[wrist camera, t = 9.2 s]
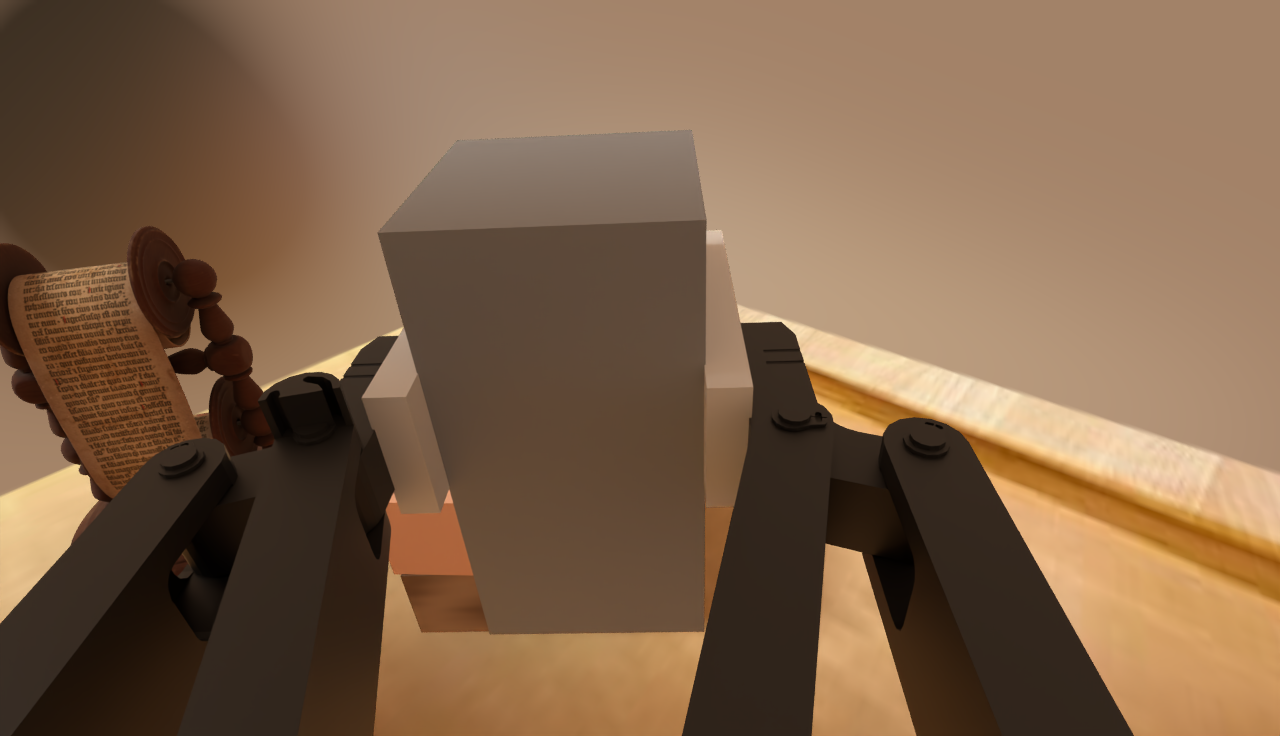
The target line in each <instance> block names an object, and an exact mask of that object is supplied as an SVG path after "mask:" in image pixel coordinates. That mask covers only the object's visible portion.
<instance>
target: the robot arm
mask: <svg viewBox="0 0 1280 736" xmlns="http://www.w3.org/2000/svg"><path fill="white" fill-rule="evenodd" d="M258 403H259V405H260V408H261V410H262V412H263V414H264V417H265V419H266V421H267V423H268V425H269V428H270V430H271V432H272V434H273V437H274V439H275V440H274V443H273V446H272V447H270V448H266V449H262V450H258V451H254V452H249V453H245V454H241V455H236V456H232V457H230V455H229V453H228V451H227V449H226V447H225V445H224V444H223V443H221V442H220V441H218V440H217V439H210V438H199V439H192V440H186V441H183V442H180V443H176V444H174V445H171V446H169V447H168V448H166V449H165V450H163V451H161V452H159V453H157V454H156V455H154V456H153V457H152V458H151V459H150V460H149V461H147V462H146V463H145V464H144V465H143V466H142V467H141V468H140V469H139V471H138V472H137V473H136V474H135V475H134V476H133V477H132V478H131V479H130V480H129V482H128V483H127V484H126V485H125V486H124V487H123V488H122V489H121V490H120V492H119V493H118V494H117V495H116V496H115V497H114V498H113V499H112V500H111V502H110V503H109V504H108V505H107V506H106V507H105V508H104V509H103V510H102V512H101V513H100V514H99V515H98V516H97V517H96V518H95V519H94V520H93V522H92V523H91V524H90V525H89V526H88V527H87V528H86V529H85V530H84V532H83V533H82V534H81V535H80V536H79V537H78V538H77V539H76V540H75V541H74V543H73V544H72V545H71V546H70V547H69V548H68V549H67V550H66V551H65V553H64V554H63V555H62V556H61V557H60V558H59V559H58V560H57V561H56V563H55V564H54V565H53V566H52V567H51V568H50V569H49V570H48V571H47V573H46V574H45V575H44V576H43V577H42V578H41V579H40V580H39V581H38V583H37V584H36V585H35V586H34V587H33V588H32V589H31V590H30V591H29V592H28V594H27V595H26V596H25V597H24V598H23V599H22V600H21V601H20V602H19V604H18V605H17V606H16V607H15V608H14V609H13V610H12V611H11V612H10V614H9V615H8V616H7V617H6V618H5V619H4V620H3V621H2V622H1V624H0V736H373V732H374V721H375V709H376V698H377V687H378V675H379V664H380V653H381V641H382V630H383V619H384V608H385V596H386V585H387V574H388V562H389V551H390V540H391V525H390V521H389V518H388V515H387V512H386V508H387V506H388V504H389V501H390V499H391V497H392V495H393V493H394V495H395V498H396V501H397V504H398V506H399V509H400V512H401V514H420V513H441V510H442V507H443V504H444V502H445V499H446V496H447V493H448V490H449V488H450V487H449V483H448V480H447V476H446V472H445V469H444V465H443V462H442V458H441V454H440V451H439V447H438V444H437V440H436V436H435V433H434V429H433V426H432V422H431V419H430V415H429V411H428V408H427V404H426V401H425V397H424V393H423V390H422V386H421V383H420V379H419V375H418V373H417V372H416V368H415V365H414V361H413V358H412V354H411V351H410V347H409V343H408V340H407V336H406V333H405V329H404V328H403V330H402V332H401V333H400V335H399V336H381V337H377V338H376V339H375V340H373V341H372V342H371V343H369V344H368V345H366V346H365V347H364V348H362V349H361V350H360V352H359V353H358V355H357V356H356V358H355V359H354V361H353V362H352V364H351V367H349V368H348V370H347V371H346V373H345V374H344V378H343V379H341V380H340V381H339V379H337V378H336V377H335V376H333V375H332V374H328V373H323V372H313V373H304V374H300V375H296V376H292V377H289V378H287V379H284V380H282V381H280V382H278V383H276V384H274V385H273V386H271V387H270V388H269V389H267V390H266V391H265V392H264V393H263V394H262V395H261V397H260V398H259V400H258ZM704 489H705V502H706V508H709V507H734V509H733V513H732V518H731V522H730V526H729V531H728V535H727V540H726V544H725V548H724V553H723V557H722V562H721V566H720V570H719V575H718V579H717V584H716V588H715V592H714V597H713V601H712V606H711V610H710V614H709V619H708V623H707V628H706V632H705V636H704V641H703V645H702V650H701V654H700V658H699V663H698V667H697V672H696V676H695V680H694V685H693V689H692V694H691V698H690V702H689V707H688V711H687V716H686V720H685V724H684V729H683V733H682V736H812V722H813V708H814V694H815V681H816V667H817V653H818V639H819V626H820V612H821V598H822V585H823V571H824V557H825V543H826V544H830V545H834V546H838V547H842V548H847V549H851V550H855V551H859V552H862V555H863V559H864V562H865V565H866V569H867V572H868V575H869V579H870V582H871V585H872V589H873V592H874V595H875V599H876V602H877V605H878V609H879V612H880V615H881V619H882V622H883V625H884V629H885V632H886V635H887V639H888V642H889V645H890V649H891V652H892V655H893V659H894V662H895V665H896V669H897V672H898V675H899V679H900V682H901V685H902V689H903V692H904V695H905V699H906V702H907V705H908V708H909V712H910V715H911V718H912V722H913V725H914V728H915V732H916V735H917V736H1134V735H1133V733H1132V731H1131V730H1130V728H1129V726H1128V724H1127V723H1126V721H1125V719H1124V717H1123V715H1122V714H1121V712H1120V710H1119V708H1118V707H1117V705H1116V703H1115V701H1114V699H1113V698H1112V696H1111V694H1110V692H1109V691H1108V689H1107V687H1106V685H1105V683H1104V682H1103V680H1102V678H1101V676H1100V675H1099V673H1098V671H1097V669H1096V667H1095V666H1094V664H1093V662H1092V660H1091V659H1090V657H1089V655H1088V653H1087V652H1086V650H1085V648H1084V646H1083V644H1082V643H1081V641H1080V639H1079V637H1078V636H1077V634H1076V632H1075V630H1074V628H1073V627H1072V625H1071V623H1070V621H1069V620H1068V618H1067V616H1066V614H1065V612H1064V611H1063V609H1062V607H1061V605H1060V604H1059V602H1058V600H1057V598H1056V596H1055V595H1054V593H1053V591H1052V589H1051V588H1050V586H1049V584H1048V582H1047V580H1046V579H1045V577H1044V575H1043V573H1042V572H1041V570H1040V568H1039V566H1038V564H1037V563H1036V561H1035V559H1034V557H1033V556H1032V554H1031V552H1030V550H1029V548H1028V547H1027V545H1026V543H1025V541H1024V540H1023V538H1022V536H1021V534H1020V532H1019V531H1018V529H1017V527H1016V525H1015V524H1014V522H1013V520H1012V518H1011V516H1010V515H1009V513H1008V511H1007V509H1006V508H1005V506H1004V504H1003V502H1002V500H1001V499H1000V497H999V495H998V493H997V492H996V490H995V488H994V486H993V485H992V483H991V481H990V479H989V477H988V476H987V474H986V472H985V470H984V469H983V467H982V465H981V463H980V461H979V460H978V458H977V456H976V454H975V453H974V451H973V449H972V447H971V445H970V444H969V442H968V441H967V440H966V439H965V437H964V436H963V435H962V434H961V433H960V432H959V431H957V430H955V429H954V428H952V427H950V426H949V425H947V424H944V423H941V422H938V421H935V420H932V419H925V418H915V417H913V418H906V419H900V420H898V421H896V422H894V423H892V424H890V425H889V426H888V427H887V429H886V430H885V432H884V433H883V436H878V435H872V434H867V433H862V432H857V431H854V430H850V429H847V428H845V427H842V426H840V425H838V424H836V423H834V422H833V418H832V414H831V413H830V412H829V411H828V410H827V409H826V408H825V407H824V406H822V405H820V404H819V403H817V400H816V397H815V394H814V391H813V388H812V384H811V381H810V378H809V375H808V372H807V369H806V366H805V363H804V360H803V357H802V354H801V351H800V348H799V345H798V341H797V338H796V335H795V334H794V333H793V332H792V331H791V330H790V329H789V328H787V327H786V326H785V325H784V324H783V323H782V322H764V323H740V319H739V314H738V309H737V304H736V299H735V294H734V289H733V284H732V279H731V274H730V270H729V264H728V259H727V254H726V249H725V244H724V240H723V235H722V230H713V231H706V365H704ZM181 554H182V555H183V556H184V558H185V559H186V561H187V563H188V564H187V565H186V567H185V568H184V570H183V571H182V572H181V573H180V574H179V575H178V576H176V575H175V574H174V573H173V571H172V568H173V566H174V564H175V562H176V561H177V560H178V558H179V557H180V556H181Z"/></svg>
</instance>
